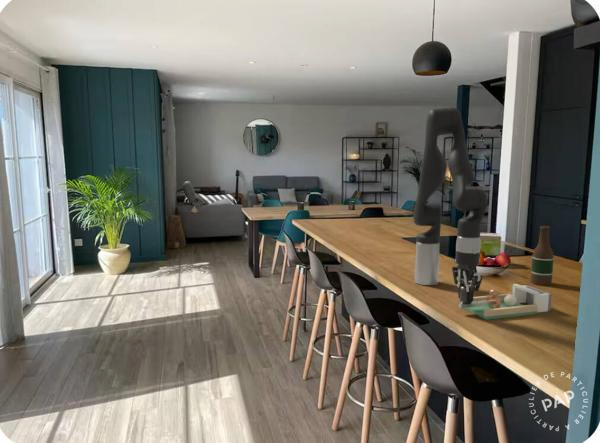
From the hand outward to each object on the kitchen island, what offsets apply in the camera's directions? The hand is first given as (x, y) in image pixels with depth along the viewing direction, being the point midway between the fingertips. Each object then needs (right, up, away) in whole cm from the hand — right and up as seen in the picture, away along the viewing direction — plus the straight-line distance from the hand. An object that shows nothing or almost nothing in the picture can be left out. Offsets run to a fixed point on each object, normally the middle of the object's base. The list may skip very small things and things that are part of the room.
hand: (465, 300), depth 158 cm
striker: (+5, -3, +2) cm, 6 cm away
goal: (+25, -4, +8) cm, 26 cm away
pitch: (+12, -4, +4) cm, 14 cm away
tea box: (+34, +5, +75) cm, 82 cm away
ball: (+17, -1, +5) cm, 18 cm away
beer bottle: (+45, 0, +38) cm, 58 cm away
